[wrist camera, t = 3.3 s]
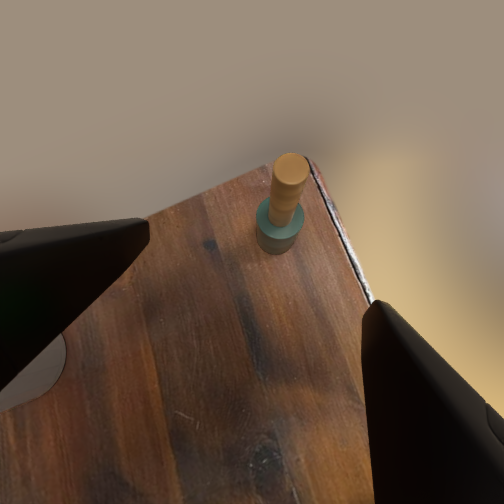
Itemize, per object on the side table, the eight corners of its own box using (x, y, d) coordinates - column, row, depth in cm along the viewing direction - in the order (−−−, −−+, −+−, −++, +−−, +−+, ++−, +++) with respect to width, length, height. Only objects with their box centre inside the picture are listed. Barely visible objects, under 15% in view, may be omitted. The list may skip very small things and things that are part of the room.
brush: (301, 243, 21) (343, 179, 11) (268, 261, 21) (278, 214, 10) (281, 212, 22) (302, 125, 12) (250, 229, 22) (241, 156, 11)
